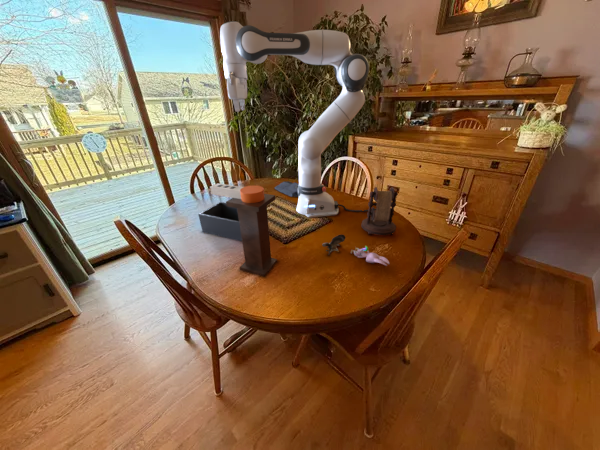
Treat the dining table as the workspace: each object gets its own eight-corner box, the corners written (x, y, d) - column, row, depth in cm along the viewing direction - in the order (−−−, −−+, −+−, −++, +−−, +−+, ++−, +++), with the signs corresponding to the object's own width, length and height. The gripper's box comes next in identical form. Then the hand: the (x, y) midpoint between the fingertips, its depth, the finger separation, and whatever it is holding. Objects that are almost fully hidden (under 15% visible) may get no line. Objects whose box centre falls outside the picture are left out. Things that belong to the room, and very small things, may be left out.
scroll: (364, 238, 101) (370, 193, 91) (358, 221, 114) (363, 181, 104) (399, 238, 100) (409, 194, 90) (389, 222, 113) (397, 181, 103)
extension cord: (207, 196, 74) (205, 187, 73) (222, 189, 80) (220, 180, 79) (256, 204, 68) (255, 194, 67) (268, 196, 74) (267, 187, 72)
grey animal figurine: (343, 257, 87) (349, 241, 93) (333, 242, 85) (340, 227, 91) (326, 260, 92) (334, 245, 98) (316, 247, 90) (325, 232, 96)
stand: (237, 270, 83) (225, 201, 70) (253, 254, 91) (245, 190, 78) (265, 278, 79) (258, 207, 66) (279, 261, 87) (275, 195, 75)
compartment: (202, 231, 107) (198, 214, 102) (223, 218, 118) (220, 201, 114) (244, 242, 99) (241, 223, 95) (262, 226, 111) (260, 208, 106)
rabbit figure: (348, 258, 90) (382, 272, 79) (347, 244, 88) (383, 257, 77) (358, 252, 94) (393, 265, 82) (358, 238, 92) (393, 250, 80)
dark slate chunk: (290, 183, 164) (290, 177, 162) (312, 192, 150) (312, 184, 147) (272, 188, 155) (272, 181, 153) (293, 198, 141) (293, 190, 138)
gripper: (237, 70, 87) (242, 112, 94) (248, 75, 105) (251, 109, 112) (220, 71, 87) (226, 112, 94) (234, 75, 105) (238, 109, 112)
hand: (240, 110), depth 103 cm, fingers open, 8 cm apart
